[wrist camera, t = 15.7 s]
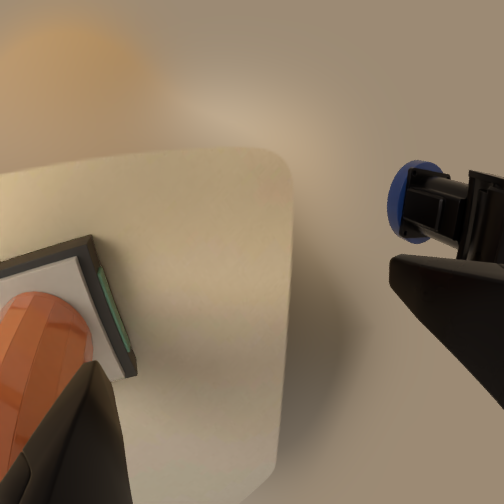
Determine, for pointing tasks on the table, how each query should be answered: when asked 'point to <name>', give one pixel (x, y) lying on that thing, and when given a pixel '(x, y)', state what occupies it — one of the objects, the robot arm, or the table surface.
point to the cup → (35, 364)
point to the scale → (75, 296)
